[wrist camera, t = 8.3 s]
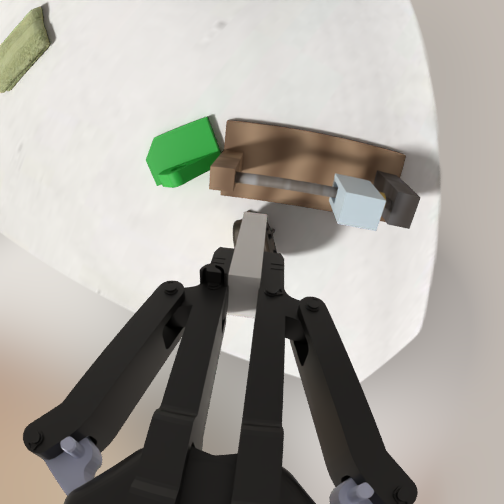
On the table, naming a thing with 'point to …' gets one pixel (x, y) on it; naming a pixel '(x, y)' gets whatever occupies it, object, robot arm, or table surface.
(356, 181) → the light blue block
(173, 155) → the bracket
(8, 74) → the washcloth
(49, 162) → the table surface
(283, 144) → the wooden slider rail stand
